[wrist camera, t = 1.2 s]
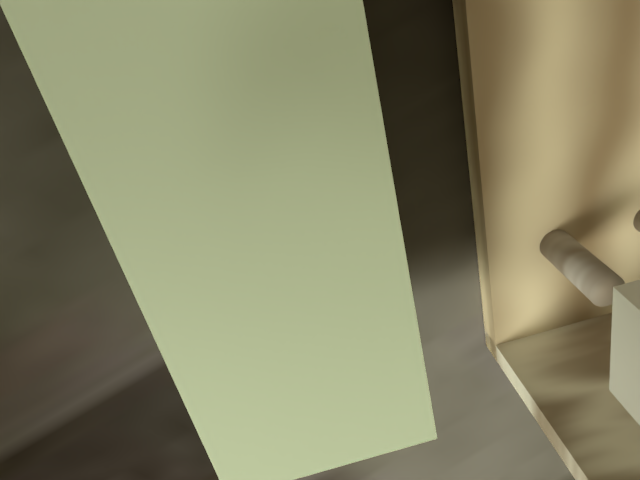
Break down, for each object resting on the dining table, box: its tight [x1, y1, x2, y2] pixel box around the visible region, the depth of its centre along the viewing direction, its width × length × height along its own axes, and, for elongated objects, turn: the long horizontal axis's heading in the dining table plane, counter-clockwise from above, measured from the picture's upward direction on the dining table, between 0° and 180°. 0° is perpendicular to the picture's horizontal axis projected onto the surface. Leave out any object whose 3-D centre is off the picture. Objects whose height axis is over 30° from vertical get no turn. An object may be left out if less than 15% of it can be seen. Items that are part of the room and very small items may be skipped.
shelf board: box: [0, 0, 437, 480], centre depth 19 cm, size 9×22×2 cm, turn 12°
